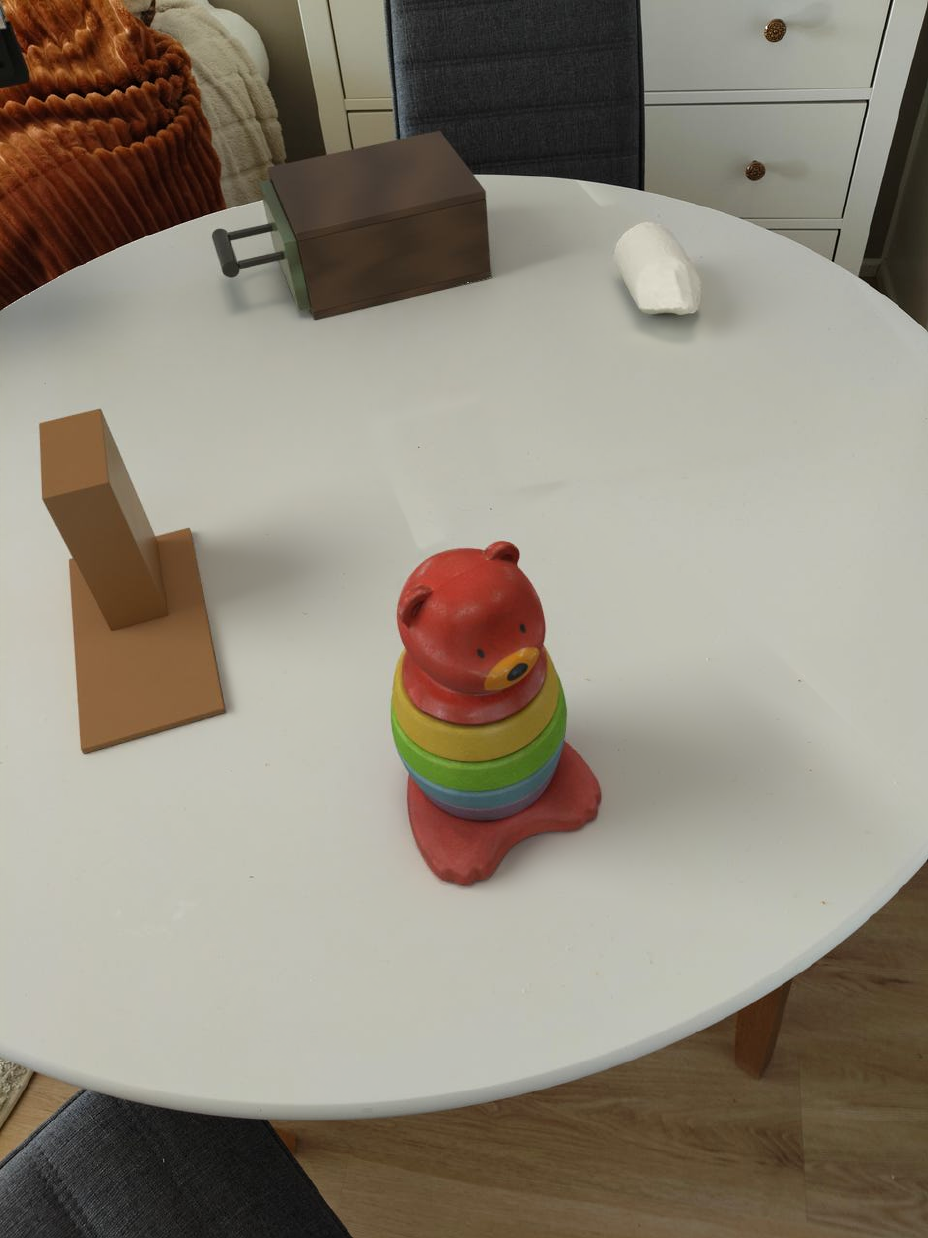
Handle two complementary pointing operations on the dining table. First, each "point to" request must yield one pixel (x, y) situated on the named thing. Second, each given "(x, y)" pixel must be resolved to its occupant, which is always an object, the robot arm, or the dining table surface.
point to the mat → (146, 657)
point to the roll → (657, 270)
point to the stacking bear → (481, 715)
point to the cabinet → (384, 222)
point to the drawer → (281, 241)
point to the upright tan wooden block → (101, 518)
